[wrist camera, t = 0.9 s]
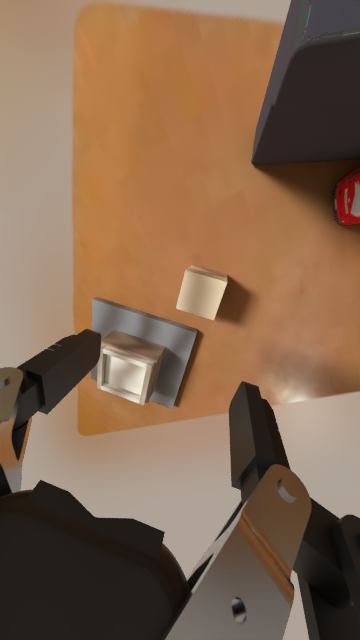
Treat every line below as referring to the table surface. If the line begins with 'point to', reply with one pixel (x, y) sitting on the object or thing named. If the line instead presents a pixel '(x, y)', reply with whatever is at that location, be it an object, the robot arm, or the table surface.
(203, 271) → the maple cube
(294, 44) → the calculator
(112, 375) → the plate
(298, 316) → the table surface
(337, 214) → the race car
